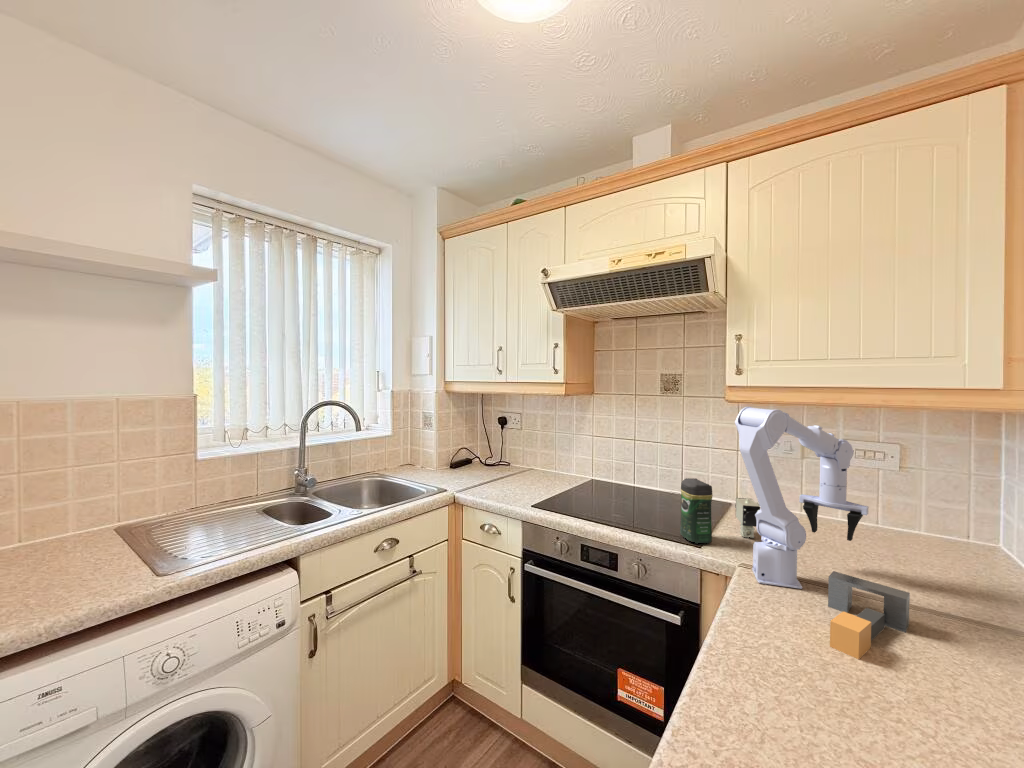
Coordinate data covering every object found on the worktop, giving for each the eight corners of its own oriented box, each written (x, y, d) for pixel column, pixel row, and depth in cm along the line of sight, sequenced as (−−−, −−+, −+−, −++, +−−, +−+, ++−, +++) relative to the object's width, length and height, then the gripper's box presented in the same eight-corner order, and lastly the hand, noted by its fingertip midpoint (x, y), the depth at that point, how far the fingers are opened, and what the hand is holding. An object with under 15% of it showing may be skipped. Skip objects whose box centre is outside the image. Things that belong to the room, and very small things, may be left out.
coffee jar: (716, 544, 133) (717, 483, 132) (691, 545, 132) (691, 484, 131) (700, 533, 142) (700, 476, 142) (676, 533, 142) (677, 476, 141)
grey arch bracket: (832, 600, 101) (833, 570, 100) (908, 625, 91) (909, 592, 91) (827, 606, 98) (828, 576, 98) (905, 632, 88) (906, 599, 88)
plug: (861, 619, 93) (862, 596, 93) (889, 630, 89) (889, 606, 89) (829, 646, 84) (830, 620, 84) (858, 659, 80) (859, 632, 80)
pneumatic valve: (744, 542, 134) (744, 503, 134) (734, 529, 146) (734, 493, 145) (764, 544, 133) (764, 504, 133) (752, 530, 144) (753, 494, 144)
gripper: (871, 486, 112) (870, 539, 112) (805, 476, 123) (804, 524, 123) (865, 491, 107) (864, 546, 108) (797, 480, 118) (796, 530, 118)
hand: (831, 535), depth 115 cm, fingers open, 7 cm apart
